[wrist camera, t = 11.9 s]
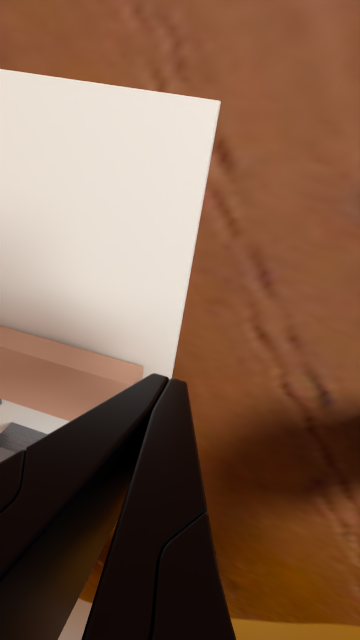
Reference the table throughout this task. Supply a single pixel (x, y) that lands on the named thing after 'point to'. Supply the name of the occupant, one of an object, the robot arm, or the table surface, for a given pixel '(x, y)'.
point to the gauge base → (97, 221)
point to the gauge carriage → (59, 375)
